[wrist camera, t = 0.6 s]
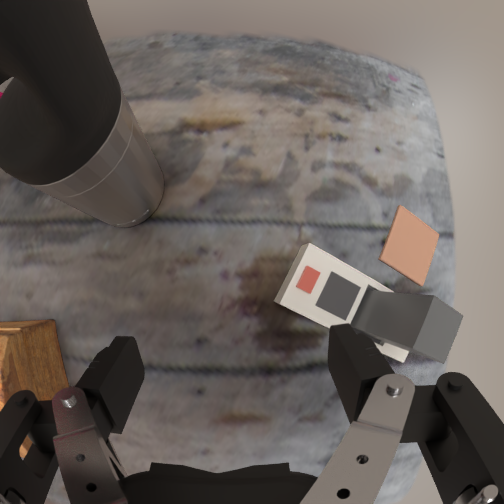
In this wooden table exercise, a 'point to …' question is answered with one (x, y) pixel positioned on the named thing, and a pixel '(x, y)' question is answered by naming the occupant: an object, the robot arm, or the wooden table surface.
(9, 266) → the wooden table surface
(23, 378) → the wooden box
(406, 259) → the tile coaster
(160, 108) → the wooden table surface
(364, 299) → the block
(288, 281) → the power strip
